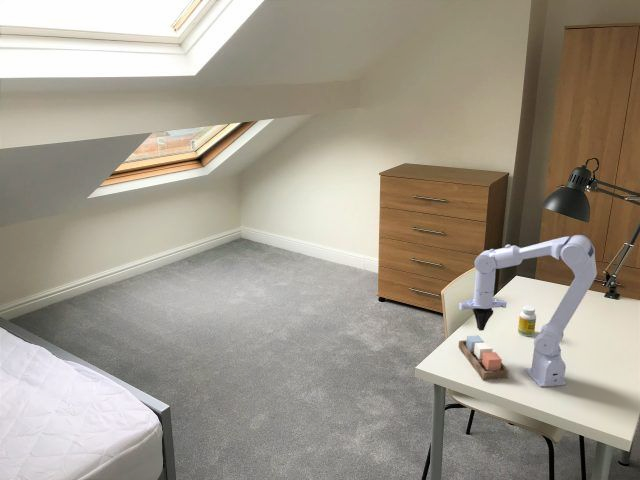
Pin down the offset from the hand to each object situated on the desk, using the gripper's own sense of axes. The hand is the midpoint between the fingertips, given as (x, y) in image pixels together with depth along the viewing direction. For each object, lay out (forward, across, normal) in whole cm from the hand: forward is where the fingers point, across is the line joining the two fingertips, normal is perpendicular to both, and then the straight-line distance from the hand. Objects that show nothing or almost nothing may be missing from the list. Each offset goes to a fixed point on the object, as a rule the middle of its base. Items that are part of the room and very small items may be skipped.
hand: (480, 329), depth 167 cm
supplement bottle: (+10, -23, -13) cm, 28 cm away
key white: (+8, 0, +3) cm, 8 cm away
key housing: (+10, 0, +3) cm, 10 cm away
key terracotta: (+7, 0, +10) cm, 12 cm away
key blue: (+8, 0, -3) cm, 9 cm away
